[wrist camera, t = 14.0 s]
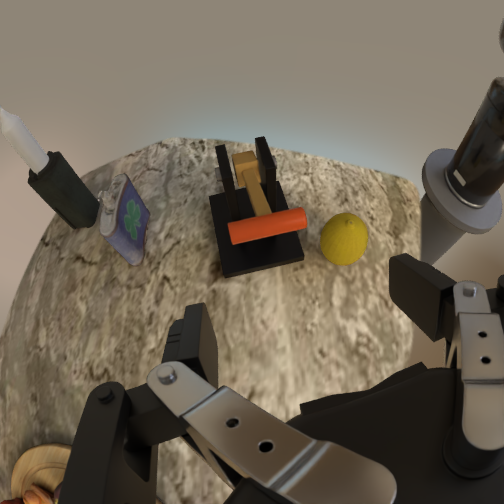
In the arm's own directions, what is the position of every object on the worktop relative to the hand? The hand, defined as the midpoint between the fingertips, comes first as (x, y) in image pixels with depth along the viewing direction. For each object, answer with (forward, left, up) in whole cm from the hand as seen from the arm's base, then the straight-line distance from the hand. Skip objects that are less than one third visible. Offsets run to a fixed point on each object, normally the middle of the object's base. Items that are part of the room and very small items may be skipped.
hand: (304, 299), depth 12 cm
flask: (+16, -20, -23) cm, 34 cm away
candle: (+26, -27, -23) cm, 44 cm away
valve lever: (0, -12, -10) cm, 15 cm away
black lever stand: (0, -17, -23) cm, 28 cm away
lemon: (-10, -10, -23) cm, 27 cm away
